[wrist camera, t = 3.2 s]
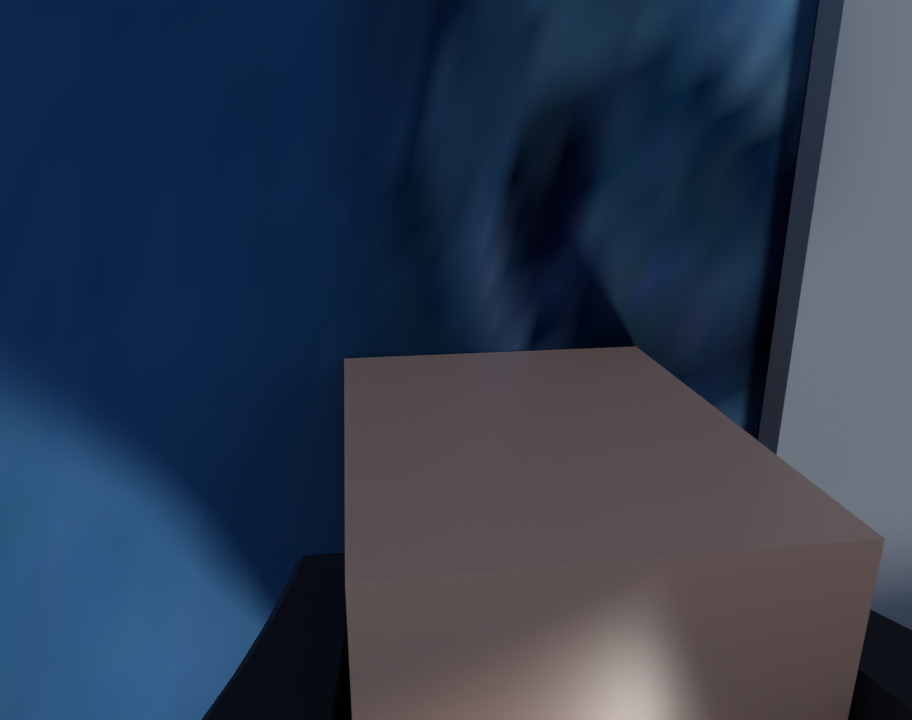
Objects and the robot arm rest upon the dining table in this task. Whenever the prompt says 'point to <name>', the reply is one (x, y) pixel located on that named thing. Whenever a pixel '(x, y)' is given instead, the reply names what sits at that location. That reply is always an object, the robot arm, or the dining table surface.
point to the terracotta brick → (586, 549)
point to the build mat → (852, 285)
